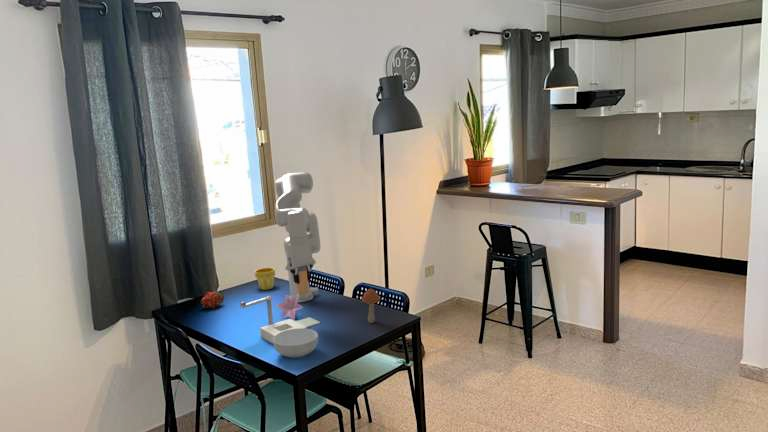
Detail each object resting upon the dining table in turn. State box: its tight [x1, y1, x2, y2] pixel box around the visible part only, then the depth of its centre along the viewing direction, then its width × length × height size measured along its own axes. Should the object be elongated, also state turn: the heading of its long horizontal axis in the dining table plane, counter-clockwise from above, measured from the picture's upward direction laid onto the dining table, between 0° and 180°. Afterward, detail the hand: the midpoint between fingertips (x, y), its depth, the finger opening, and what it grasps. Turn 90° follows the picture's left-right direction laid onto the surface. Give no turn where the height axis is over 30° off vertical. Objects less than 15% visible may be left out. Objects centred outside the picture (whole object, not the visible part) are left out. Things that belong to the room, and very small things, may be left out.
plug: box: [297, 265, 309, 294], centre depth 252 cm, size 5×5×12 cm
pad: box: [295, 316, 321, 329], centre depth 256 cm, size 9×9×1 cm
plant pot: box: [254, 267, 276, 291], centre depth 311 cm, size 10×10×10 cm
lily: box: [276, 294, 304, 321], centre depth 267 cm, size 12×12×10 cm
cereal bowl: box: [273, 328, 319, 359], centre depth 225 cm, size 17×17×7 cm
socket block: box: [259, 300, 308, 345], centre depth 244 cm, size 14×20×13 cm
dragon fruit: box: [199, 290, 225, 309], centre depth 286 cm, size 8×8×12 cm
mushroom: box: [361, 287, 381, 324], centre depth 252 cm, size 8×8×15 cm
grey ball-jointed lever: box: [239, 295, 273, 309], centre depth 245 cm, size 14×3×2 cm, turn 135°
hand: (302, 281), depth 252 cm, fingers closed on plug, 4 cm apart
